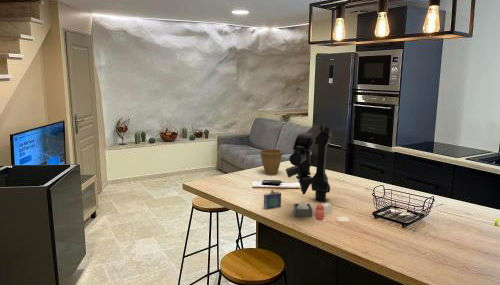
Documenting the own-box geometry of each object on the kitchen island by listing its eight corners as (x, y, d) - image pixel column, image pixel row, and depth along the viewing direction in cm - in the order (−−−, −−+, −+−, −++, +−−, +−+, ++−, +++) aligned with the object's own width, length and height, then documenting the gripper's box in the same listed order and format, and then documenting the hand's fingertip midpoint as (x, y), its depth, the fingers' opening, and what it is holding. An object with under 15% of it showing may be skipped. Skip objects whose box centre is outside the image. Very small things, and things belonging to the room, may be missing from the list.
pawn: (314, 217, 175) (315, 202, 174) (322, 217, 175) (323, 202, 174) (316, 220, 171) (316, 205, 170) (324, 220, 171) (325, 205, 170)
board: (290, 213, 184) (291, 210, 184) (343, 213, 185) (343, 210, 184) (294, 224, 170) (294, 221, 170) (351, 224, 171) (351, 221, 171)
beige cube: (320, 211, 184) (321, 203, 183) (328, 210, 184) (328, 202, 184) (323, 214, 180) (324, 206, 179) (331, 213, 180) (331, 205, 180)
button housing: (293, 211, 184) (293, 203, 183) (309, 211, 184) (309, 203, 183) (295, 217, 176) (295, 209, 175) (312, 217, 176) (312, 209, 175)
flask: (264, 212, 186) (264, 191, 184) (262, 210, 188) (262, 189, 187) (281, 210, 189) (282, 189, 187) (279, 208, 191) (279, 188, 189)
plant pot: (271, 169, 266) (271, 148, 263) (286, 174, 254) (286, 151, 251) (255, 173, 256) (255, 150, 253) (270, 178, 245) (270, 154, 242)
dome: (296, 208, 182) (296, 200, 181) (307, 208, 182) (307, 200, 181) (297, 213, 176) (297, 204, 176) (309, 212, 177) (309, 204, 176)
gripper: (284, 156, 184) (284, 187, 187) (289, 166, 165) (288, 199, 168) (307, 156, 184) (306, 187, 187) (314, 166, 166) (313, 199, 168)
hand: (303, 193), depth 178 cm, fingers open, 4 cm apart
